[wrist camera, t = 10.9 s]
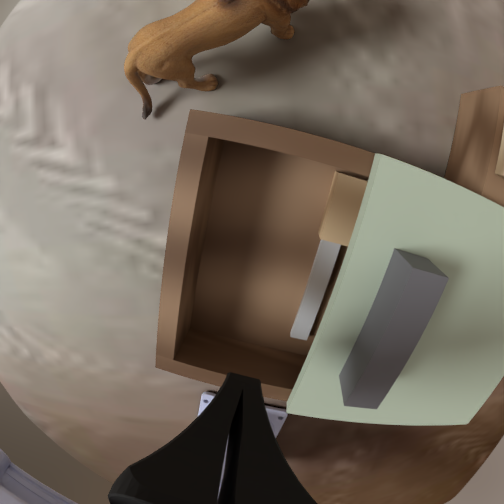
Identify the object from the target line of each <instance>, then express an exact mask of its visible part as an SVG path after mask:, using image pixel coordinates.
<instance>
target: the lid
mask: <svg viewBox="0 0 504 504" xmlns="http://www.w3.org/2000/svg"><path fill="white" fill-rule="evenodd" d="M503 376H504V207H502V206H500V205H498V204H496V203H494V202H492V201H491V200H489V199H487V198H485V197H483V196H481V195H479V194H477V193H474V192H472V191H470V190H468V189H466V188H464V187H462V186H460V185H457V184H455V183H453V182H451V181H448V180H446V179H444V178H442V177H439V176H437V175H435V174H432V173H430V172H427V171H425V170H422V169H420V168H417V167H415V166H412V165H410V164H407V163H405V162H402V161H399V160H397V159H394V158H391V157H388V156H386V155H383V154H375V156H374V160H373V164H372V168H371V172H370V175H369V179H368V183H367V186H366V190H365V193H364V197H363V200H362V204H361V207H360V210H359V214H358V217H357V220H356V223H355V227H354V230H353V233H352V236H351V239H350V242H349V245H348V248H347V251H346V254H345V257H344V260H343V263H342V266H341V269H340V272H339V275H338V278H337V280H336V283H335V286H334V289H333V291H332V294H331V297H330V300H329V302H328V305H327V308H326V310H325V313H324V315H323V318H322V321H321V323H320V326H319V328H318V331H317V333H316V336H315V338H314V341H313V343H312V346H311V348H310V350H309V353H308V355H307V358H306V360H305V362H304V365H303V367H302V369H301V372H300V374H299V376H298V378H297V381H296V383H295V385H294V387H293V390H292V392H291V394H290V396H289V398H288V400H287V408H286V413H290V414H296V415H302V416H308V417H315V418H322V419H330V420H339V421H348V422H359V423H372V424H388V425H461V424H468V423H469V421H470V420H471V419H472V418H473V416H474V415H475V414H476V413H477V411H478V410H479V409H480V408H481V406H482V405H483V404H484V403H485V401H486V400H487V399H488V397H489V396H490V394H491V393H492V392H493V390H494V389H495V388H496V386H497V385H498V383H499V382H500V380H501V379H502V377H503Z"/></svg>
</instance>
